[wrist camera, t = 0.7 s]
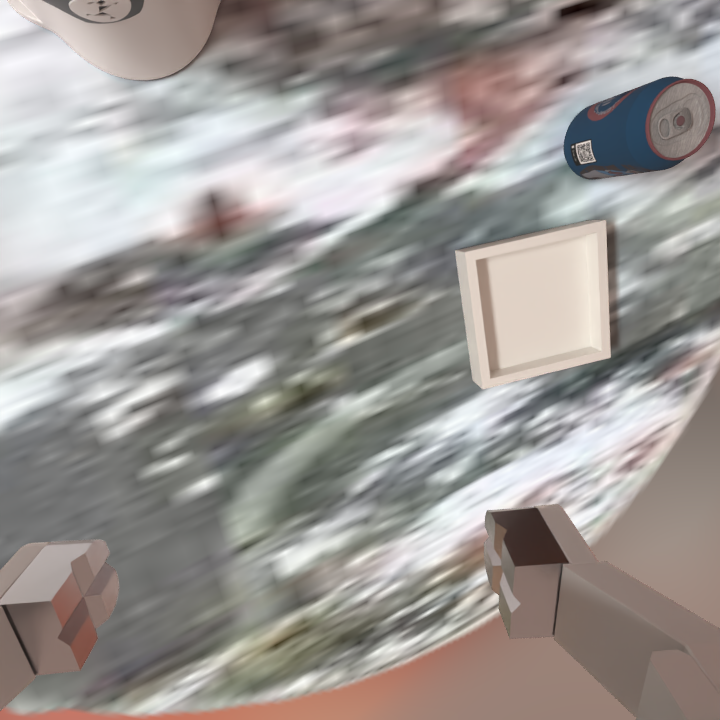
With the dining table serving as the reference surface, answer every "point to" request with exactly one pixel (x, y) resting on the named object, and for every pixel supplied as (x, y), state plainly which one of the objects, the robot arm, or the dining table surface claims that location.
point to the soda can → (640, 129)
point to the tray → (536, 302)
